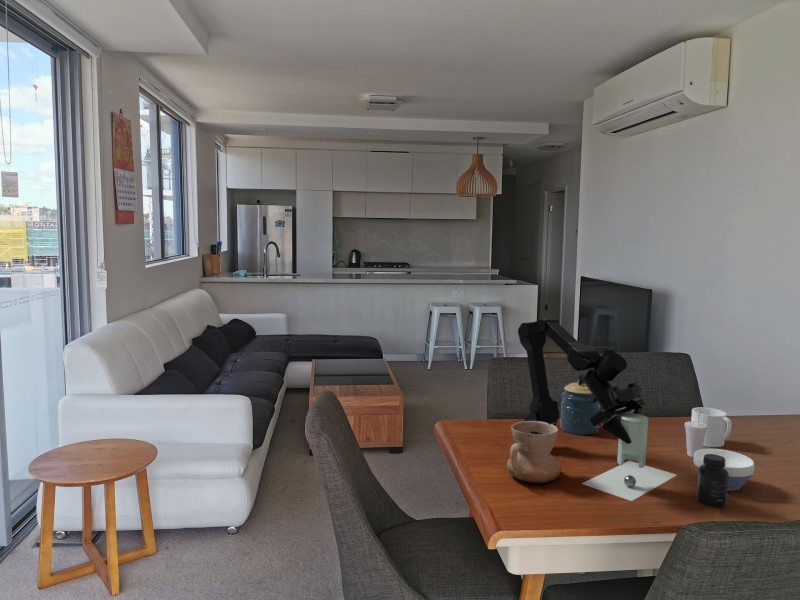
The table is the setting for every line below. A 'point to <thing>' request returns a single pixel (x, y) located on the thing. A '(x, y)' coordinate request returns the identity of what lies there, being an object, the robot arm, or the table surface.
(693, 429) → the smoothie
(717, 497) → the supplement bottle
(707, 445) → the mug
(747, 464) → the bowl
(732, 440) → the table surface
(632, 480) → the steel ball
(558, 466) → the ceramic jug
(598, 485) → the off-white mat
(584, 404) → the canister
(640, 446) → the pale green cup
